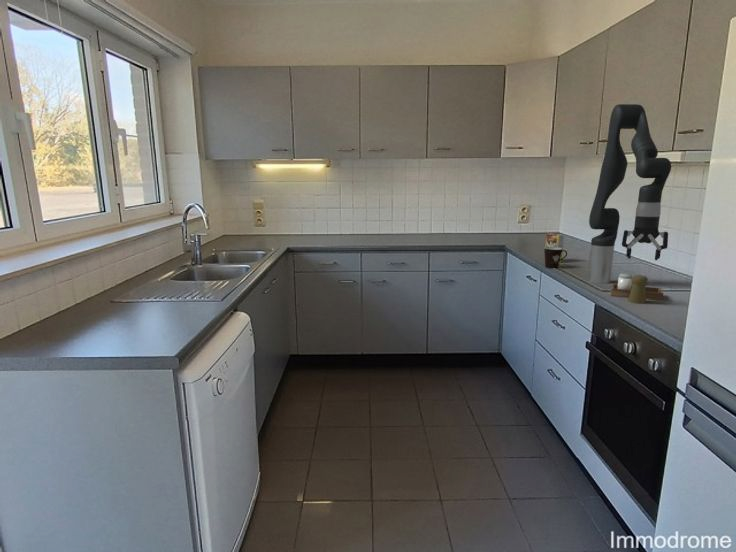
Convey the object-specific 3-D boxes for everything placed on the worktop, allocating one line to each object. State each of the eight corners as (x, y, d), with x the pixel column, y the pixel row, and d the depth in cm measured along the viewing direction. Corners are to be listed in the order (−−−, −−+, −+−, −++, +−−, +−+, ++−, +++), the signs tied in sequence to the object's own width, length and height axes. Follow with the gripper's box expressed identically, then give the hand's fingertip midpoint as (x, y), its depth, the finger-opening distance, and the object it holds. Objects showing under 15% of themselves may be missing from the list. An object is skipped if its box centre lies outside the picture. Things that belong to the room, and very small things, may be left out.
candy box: (543, 260, 257) (545, 233, 254) (549, 259, 259) (551, 233, 256) (556, 263, 249) (558, 235, 246) (562, 262, 251) (564, 234, 248)
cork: (629, 301, 176) (632, 273, 174) (647, 303, 173) (650, 275, 170) (625, 304, 172) (629, 276, 169) (644, 307, 168) (648, 278, 166)
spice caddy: (610, 293, 188) (611, 283, 187) (659, 297, 180) (660, 288, 179) (610, 298, 180) (611, 288, 179) (662, 303, 172) (663, 293, 172)
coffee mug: (543, 268, 237) (544, 249, 234) (542, 265, 245) (543, 246, 242) (567, 269, 233) (569, 250, 231) (565, 266, 241) (567, 247, 239)
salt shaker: (616, 292, 185) (618, 272, 183) (630, 293, 183) (632, 273, 181) (616, 295, 181) (619, 275, 179) (630, 296, 179) (633, 276, 177)
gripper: (669, 214, 165) (663, 258, 169) (624, 213, 171) (620, 256, 175) (672, 216, 159) (666, 262, 162) (625, 215, 165) (620, 259, 168)
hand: (642, 259), depth 168 cm, fingers open, 8 cm apart
